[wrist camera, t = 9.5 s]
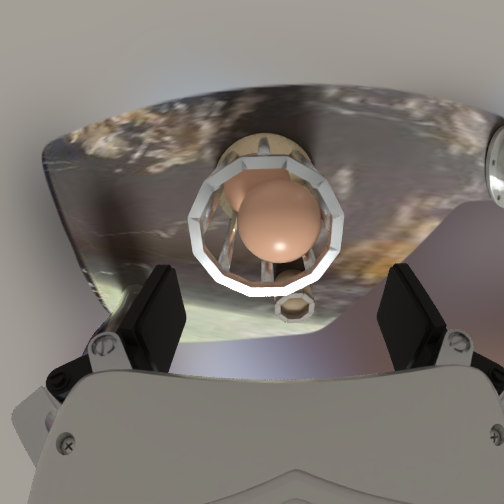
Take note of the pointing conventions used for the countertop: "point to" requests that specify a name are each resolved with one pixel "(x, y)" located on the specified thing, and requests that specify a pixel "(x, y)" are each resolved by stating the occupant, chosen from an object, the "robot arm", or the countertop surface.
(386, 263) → the countertop surface
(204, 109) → the countertop surface
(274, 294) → the cage tube
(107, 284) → the countertop surface
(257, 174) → the ball
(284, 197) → the terracotta ball
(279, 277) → the stand
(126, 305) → the beer glass
